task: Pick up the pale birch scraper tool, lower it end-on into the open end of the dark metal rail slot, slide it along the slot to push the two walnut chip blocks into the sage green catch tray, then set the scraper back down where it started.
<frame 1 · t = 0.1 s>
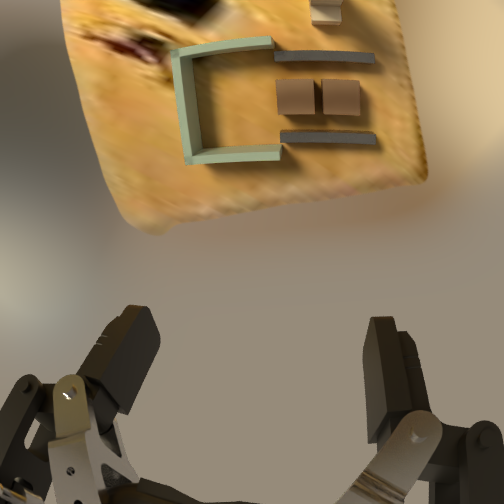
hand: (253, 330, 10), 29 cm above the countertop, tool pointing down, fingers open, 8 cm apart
catch tray: (232, 99, 32), on the countertop
rail slot: (326, 95, 30), on the countertop
walnut chip 2: (338, 96, 30), on the countertop
walnut chip 1: (296, 95, 31), on the countertop
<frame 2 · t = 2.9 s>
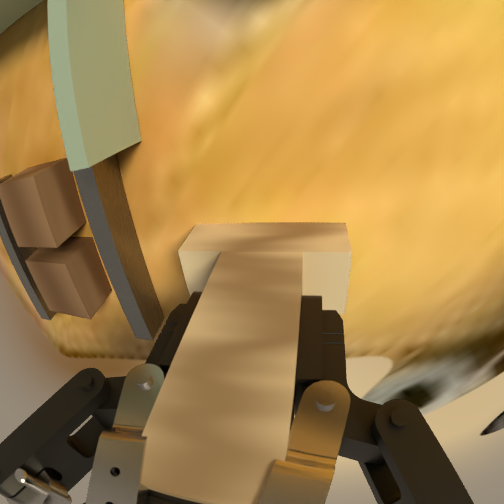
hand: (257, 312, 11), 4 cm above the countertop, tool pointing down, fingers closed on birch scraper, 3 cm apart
catch tray: (29, 76, 11), on the countertop
rail slot: (72, 244, 17), on the countertop
walnut chip 2: (81, 262, 18), on the countertop
birch scraper: (270, 252, 15), on the countertop, touching gripper
walnut chip 1: (56, 192, 15), on the countertop
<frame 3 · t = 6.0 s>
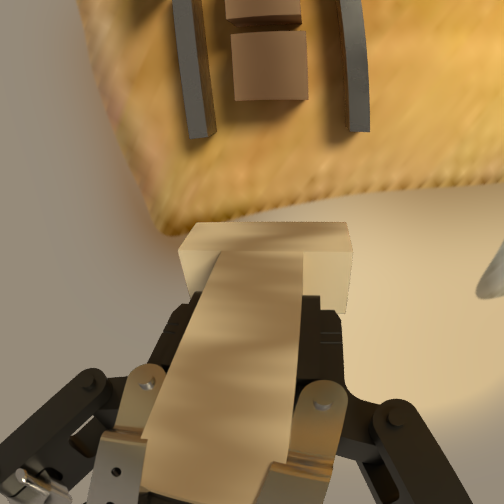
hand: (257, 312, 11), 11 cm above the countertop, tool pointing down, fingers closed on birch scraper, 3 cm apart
rail slot: (272, 45, 15), on the countertop
walnut chip 2: (275, 67, 16), on the countertop
birch scraper: (271, 251, 15), point 7 cm above the countertop, touching gripper
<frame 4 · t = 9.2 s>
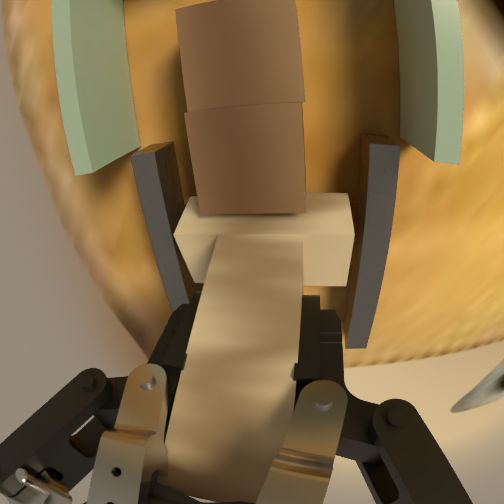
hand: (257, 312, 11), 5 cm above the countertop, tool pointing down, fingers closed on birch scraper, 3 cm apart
catch tray: (252, 14, 9), on the countertop
rail slot: (270, 243, 15), on the countertop
walnut chip 2: (258, 144, 13), on the countertop, touching birch scraper
birch scraper: (269, 220, 14), on the countertop, tilted 16°, touching gripper, walnut chip 2
walnut chip 1: (252, 56, 11), on the countertop
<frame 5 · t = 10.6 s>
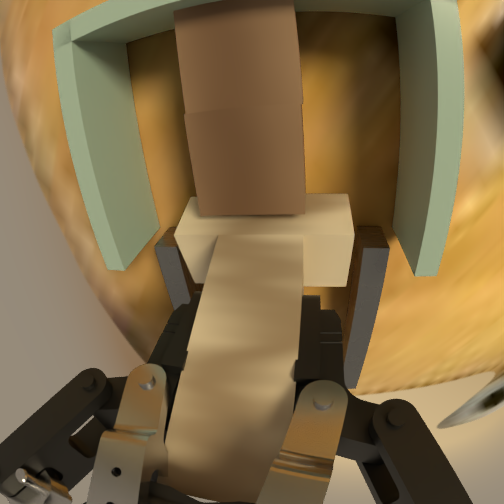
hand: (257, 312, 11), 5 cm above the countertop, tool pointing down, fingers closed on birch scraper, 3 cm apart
catch tray: (262, 111, 12), on the countertop
rail slot: (276, 309, 18), on the countertop
walnut chip 2: (258, 144, 13), on the countertop, touching birch scraper, walnut chip 1
birch scraper: (270, 221, 14), on the countertop, tilted 15°, touching gripper, walnut chip 2
walnut chip 1: (251, 57, 11), on the countertop, touching catch tray, walnut chip 2
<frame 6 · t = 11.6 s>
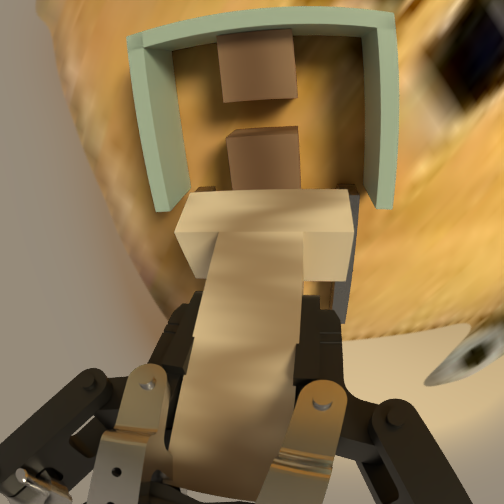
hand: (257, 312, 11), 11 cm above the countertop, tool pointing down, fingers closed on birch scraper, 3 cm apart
catch tray: (269, 103, 17), on the countertop
rail slot: (278, 253, 23), on the countertop
walnut chip 2: (269, 156, 19), on the countertop
birch scraper: (269, 216, 14), point 7 cm above the countertop, tilted 18°, touching gripper
walnut chip 1: (263, 67, 16), on the countertop
when the fingers open (6 cm above the countertop, at t = 14.9 s): birch scraper moves 2 cm and tips over, point 1 cm above the countertop.
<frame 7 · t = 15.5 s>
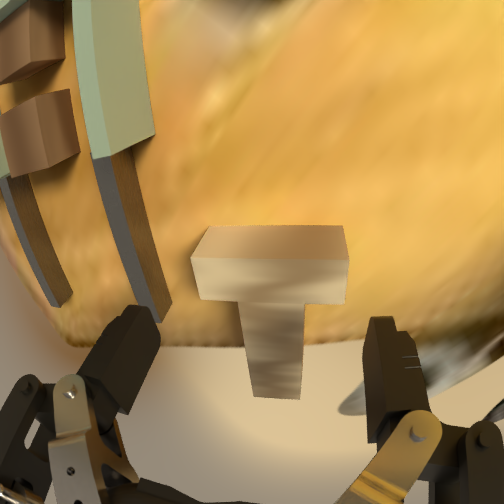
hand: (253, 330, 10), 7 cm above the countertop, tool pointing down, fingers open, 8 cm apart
catch tray: (46, 73, 12), on the countertop
rail slot: (84, 232, 18), on the countertop
walnut chip 2: (54, 126, 14), on the countertop
birch scraper: (271, 240, 14), point 1 cm above the countertop, tilted 90°
walnut chip 1: (43, 41, 11), on the countertop
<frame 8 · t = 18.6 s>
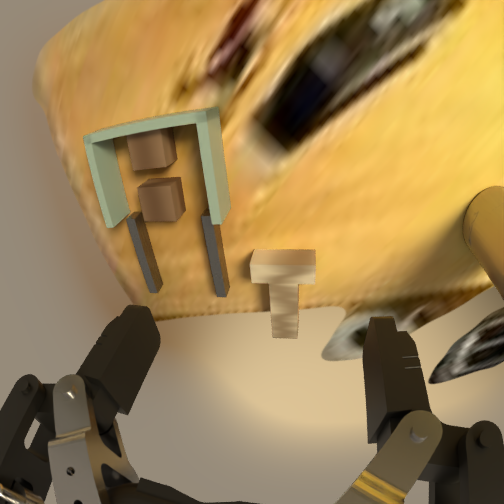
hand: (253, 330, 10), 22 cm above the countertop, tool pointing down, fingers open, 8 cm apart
catch tray: (163, 164, 31), on the countertop
rail slot: (181, 250, 37), on the countertop
walnut chip 2: (167, 193, 33), on the countertop
birch scraper: (283, 256, 33), point 1 cm above the countertop, tilted 90°
walnut chip 1: (158, 143, 30), on the countertop
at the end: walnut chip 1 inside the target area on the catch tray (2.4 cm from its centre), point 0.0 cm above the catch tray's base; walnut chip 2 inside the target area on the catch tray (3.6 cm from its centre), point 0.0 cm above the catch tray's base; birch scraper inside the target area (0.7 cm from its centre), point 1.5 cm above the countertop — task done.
